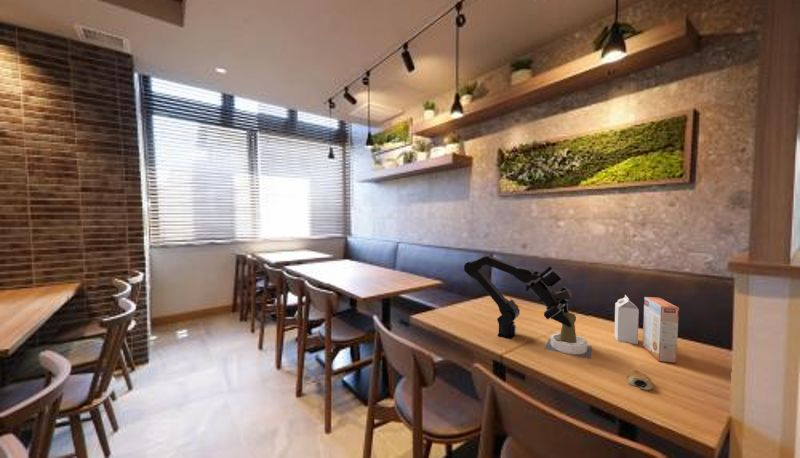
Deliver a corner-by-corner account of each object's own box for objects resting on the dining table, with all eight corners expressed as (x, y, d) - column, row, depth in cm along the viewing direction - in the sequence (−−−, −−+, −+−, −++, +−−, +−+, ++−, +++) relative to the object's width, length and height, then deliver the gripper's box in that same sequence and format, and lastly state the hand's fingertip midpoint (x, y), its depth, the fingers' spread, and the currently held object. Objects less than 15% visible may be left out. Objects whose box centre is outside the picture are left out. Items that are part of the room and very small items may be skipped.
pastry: (624, 374, 110) (625, 363, 110) (649, 379, 107) (650, 368, 107) (627, 387, 102) (628, 375, 102) (654, 393, 99) (655, 381, 99)
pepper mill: (580, 342, 128) (581, 315, 127) (566, 343, 127) (567, 316, 126) (569, 336, 134) (570, 310, 133) (556, 337, 133) (557, 311, 132)
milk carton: (633, 338, 140) (635, 295, 139) (637, 345, 134) (639, 299, 132) (614, 336, 143) (615, 293, 142) (617, 342, 136) (618, 297, 135)
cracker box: (677, 364, 117) (680, 307, 116) (658, 361, 119) (659, 305, 117) (659, 348, 130) (661, 297, 129) (641, 346, 132) (643, 296, 131)
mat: (544, 350, 129) (544, 349, 129) (549, 339, 140) (549, 338, 140) (591, 360, 121) (591, 358, 120) (592, 347, 132) (592, 346, 131)
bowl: (548, 350, 128) (548, 341, 128) (552, 338, 139) (553, 331, 139) (586, 357, 121) (586, 348, 121) (587, 345, 132) (587, 337, 132)
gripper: (553, 286, 124) (585, 320, 118) (563, 277, 139) (592, 307, 133) (531, 302, 129) (561, 336, 123) (543, 292, 144) (570, 322, 138)
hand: (572, 324), depth 129 cm, fingers closed on pepper mill, 5 cm apart
